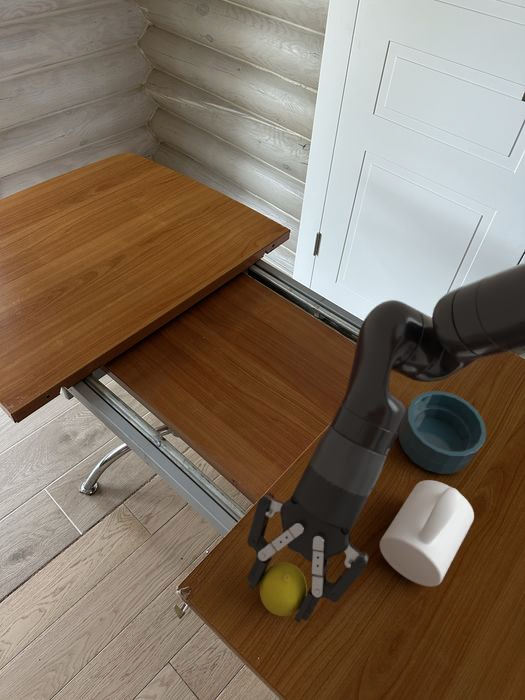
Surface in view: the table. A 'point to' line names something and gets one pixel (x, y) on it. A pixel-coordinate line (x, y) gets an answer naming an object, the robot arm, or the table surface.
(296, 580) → the lemon
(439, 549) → the mug
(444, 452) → the bowl
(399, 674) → the table surface
